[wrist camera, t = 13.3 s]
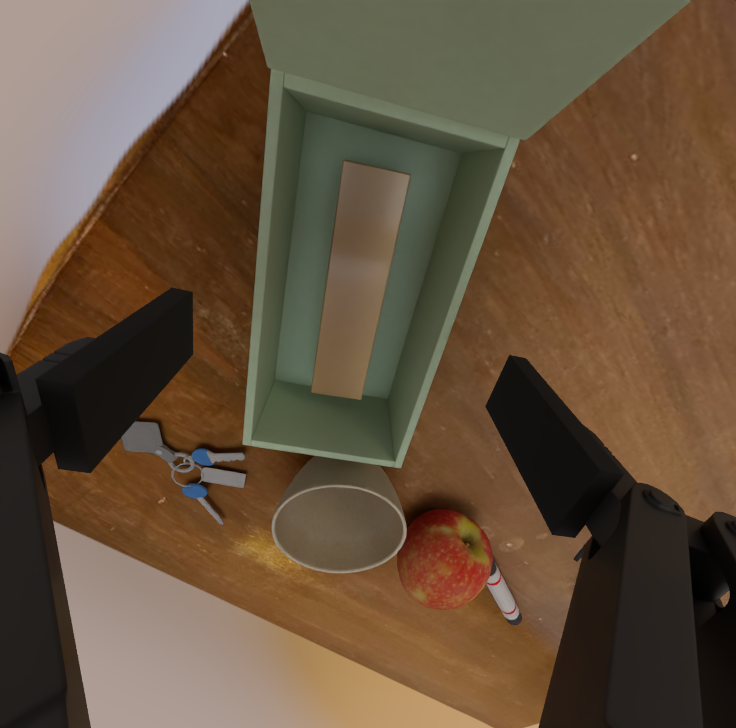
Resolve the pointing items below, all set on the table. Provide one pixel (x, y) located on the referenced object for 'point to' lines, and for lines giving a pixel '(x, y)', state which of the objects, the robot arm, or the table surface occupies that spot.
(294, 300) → the carton
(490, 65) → the flap
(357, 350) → the birch block
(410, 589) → the apple
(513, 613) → the marker
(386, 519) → the flower pot
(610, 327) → the table surface
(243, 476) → the key chain
